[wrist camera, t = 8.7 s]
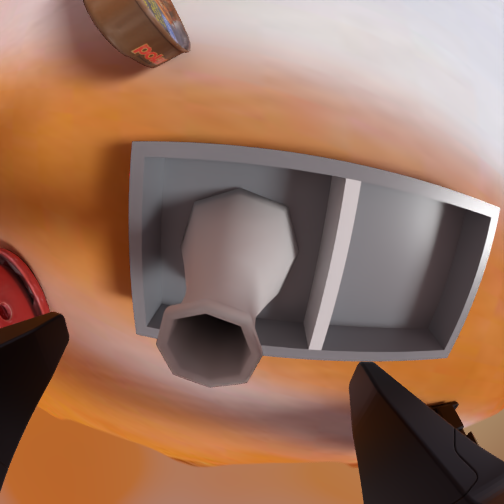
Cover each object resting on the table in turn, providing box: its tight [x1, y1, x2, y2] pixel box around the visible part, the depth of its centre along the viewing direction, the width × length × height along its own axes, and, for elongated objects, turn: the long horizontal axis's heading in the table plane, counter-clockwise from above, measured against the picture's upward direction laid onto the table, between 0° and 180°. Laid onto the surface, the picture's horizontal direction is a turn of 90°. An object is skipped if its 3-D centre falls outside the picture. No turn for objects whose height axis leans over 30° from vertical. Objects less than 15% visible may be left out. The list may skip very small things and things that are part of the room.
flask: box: [156, 188, 299, 387], centre depth 12 cm, size 7×7×10 cm
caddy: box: [129, 141, 500, 361], centre depth 16 cm, size 12×22×4 cm, turn 84°
